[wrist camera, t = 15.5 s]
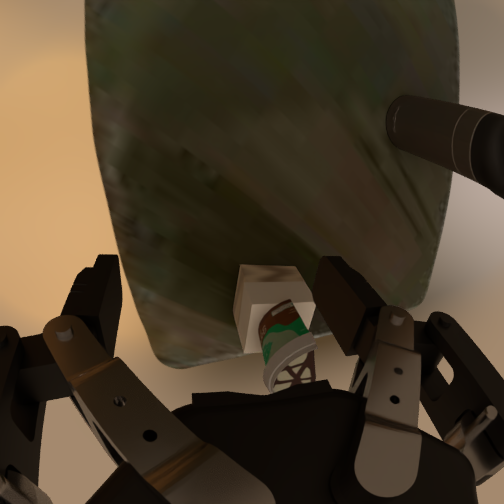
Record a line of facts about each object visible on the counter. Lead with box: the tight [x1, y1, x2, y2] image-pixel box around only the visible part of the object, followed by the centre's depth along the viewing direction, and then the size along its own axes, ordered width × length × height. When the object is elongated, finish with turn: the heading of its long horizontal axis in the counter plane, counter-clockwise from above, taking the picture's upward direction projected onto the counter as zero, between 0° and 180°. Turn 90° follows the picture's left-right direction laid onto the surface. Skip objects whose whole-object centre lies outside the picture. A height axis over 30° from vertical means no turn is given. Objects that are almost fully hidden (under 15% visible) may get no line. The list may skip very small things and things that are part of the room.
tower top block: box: [238, 281, 316, 354], centre depth 45 cm, size 9×9×5 cm
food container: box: [258, 299, 318, 394], centre depth 38 cm, size 12×6×10 cm, turn 10°
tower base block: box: [233, 265, 305, 330], centre depth 49 cm, size 9×9×5 cm
